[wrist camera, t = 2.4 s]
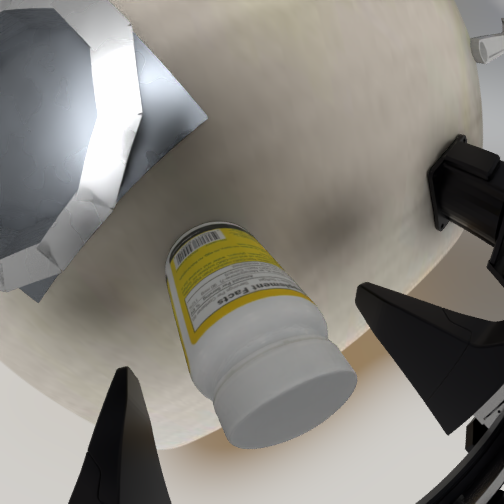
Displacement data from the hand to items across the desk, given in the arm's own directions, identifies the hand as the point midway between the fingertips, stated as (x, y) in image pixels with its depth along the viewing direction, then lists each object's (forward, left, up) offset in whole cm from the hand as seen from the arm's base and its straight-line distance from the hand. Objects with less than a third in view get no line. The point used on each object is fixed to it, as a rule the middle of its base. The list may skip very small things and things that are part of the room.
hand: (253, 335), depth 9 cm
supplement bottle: (0, 0, -5) cm, 5 cm away
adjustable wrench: (-1, -41, -6) cm, 42 cm away
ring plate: (+11, +2, -5) cm, 12 cm away
